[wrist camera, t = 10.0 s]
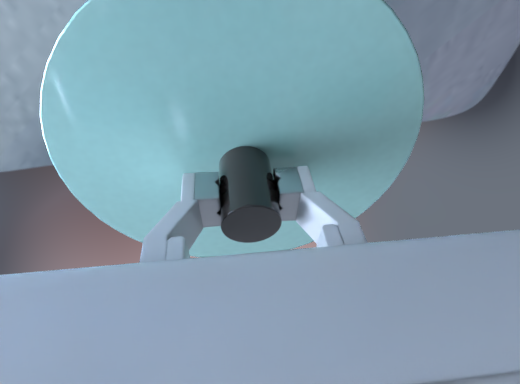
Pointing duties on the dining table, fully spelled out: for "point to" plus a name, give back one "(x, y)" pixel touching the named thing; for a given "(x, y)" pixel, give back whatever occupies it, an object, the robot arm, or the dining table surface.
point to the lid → (229, 109)
